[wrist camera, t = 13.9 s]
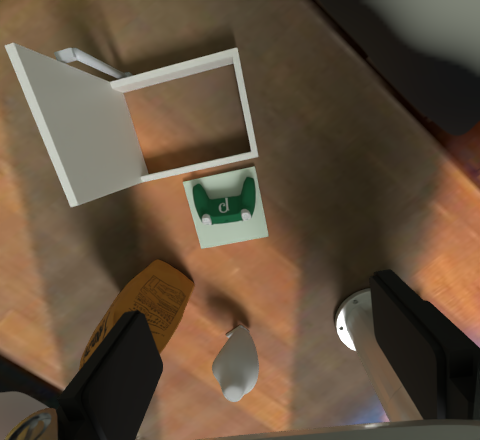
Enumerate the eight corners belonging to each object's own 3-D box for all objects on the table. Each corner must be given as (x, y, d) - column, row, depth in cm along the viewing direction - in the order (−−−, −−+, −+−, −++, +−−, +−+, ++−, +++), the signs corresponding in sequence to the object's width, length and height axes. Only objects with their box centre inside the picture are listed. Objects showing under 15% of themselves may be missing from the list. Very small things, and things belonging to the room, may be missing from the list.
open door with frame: (236, 44, 34) (219, -43, 18) (258, 155, 38) (260, 166, 22) (113, 78, 36) (-3, 27, 20) (145, 180, 40) (70, 207, 24)
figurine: (265, 335, 47) (268, 398, 36) (246, 353, 48) (243, 418, 37) (233, 311, 46) (225, 368, 35) (214, 330, 47) (201, 390, 36)
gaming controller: (198, 196, 42) (197, 229, 39) (191, 182, 38) (190, 218, 35) (255, 188, 41) (259, 222, 38) (253, 173, 37) (257, 209, 35)
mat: (254, 166, 39) (254, 166, 38) (268, 235, 42) (268, 236, 41) (183, 181, 40) (182, 182, 39) (202, 247, 43) (201, 248, 42)
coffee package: (116, 294, 46) (1, 421, 25) (159, 248, 43) (68, 349, 22) (160, 328, 48) (85, 474, 27) (204, 286, 45) (158, 413, 24)
